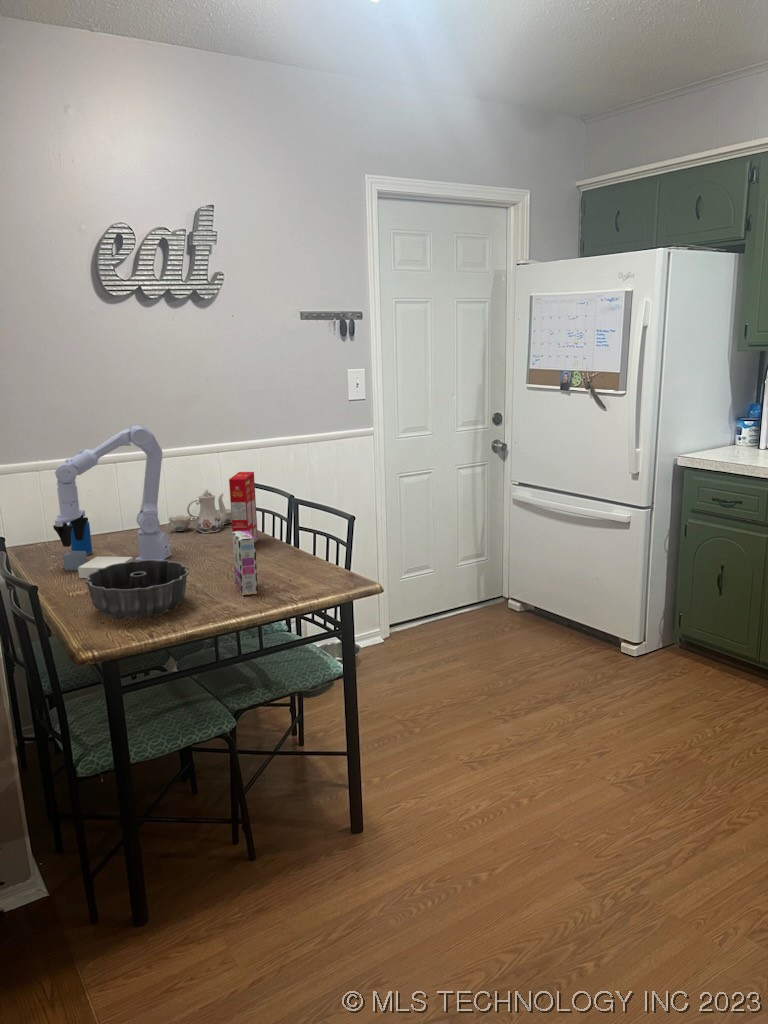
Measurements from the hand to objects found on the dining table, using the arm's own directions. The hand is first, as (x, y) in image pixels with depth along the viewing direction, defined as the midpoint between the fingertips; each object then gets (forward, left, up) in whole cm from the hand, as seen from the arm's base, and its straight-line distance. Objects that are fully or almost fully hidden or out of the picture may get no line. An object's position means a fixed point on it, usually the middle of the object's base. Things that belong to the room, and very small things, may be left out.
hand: (73, 543), depth 239 cm
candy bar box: (-62, +18, -8) cm, 65 cm away
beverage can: (+6, -15, -8) cm, 18 cm away
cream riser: (-13, +5, -9) cm, 16 cm away
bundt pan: (-38, +35, -8) cm, 52 cm away
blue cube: (0, 0, -8) cm, 8 cm away
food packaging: (-47, -29, -8) cm, 56 cm away
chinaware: (-25, -52, -9) cm, 58 cm away
